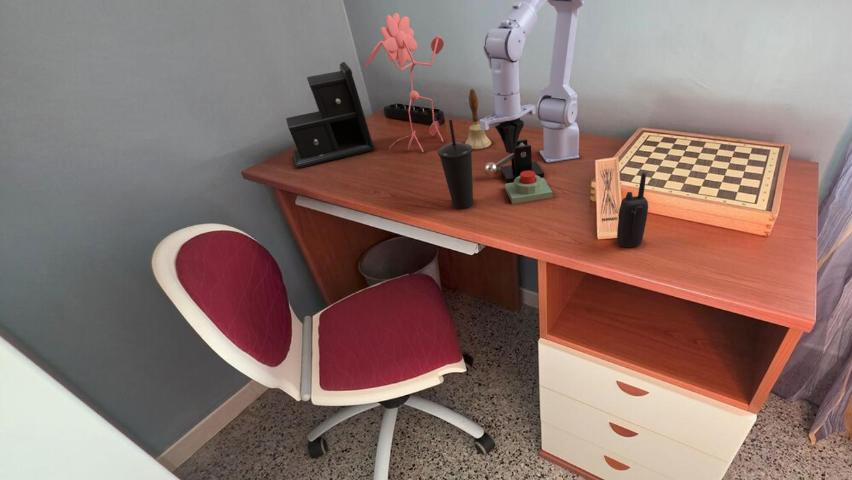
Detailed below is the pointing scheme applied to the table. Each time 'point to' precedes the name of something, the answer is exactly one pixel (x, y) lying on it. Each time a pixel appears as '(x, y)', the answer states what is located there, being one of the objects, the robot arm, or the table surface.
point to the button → (527, 177)
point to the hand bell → (476, 126)
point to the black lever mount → (521, 163)
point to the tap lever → (498, 164)
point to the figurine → (405, 57)
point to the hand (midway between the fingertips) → (510, 152)
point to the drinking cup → (458, 171)
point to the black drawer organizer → (331, 121)
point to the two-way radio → (632, 217)
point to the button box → (528, 190)
